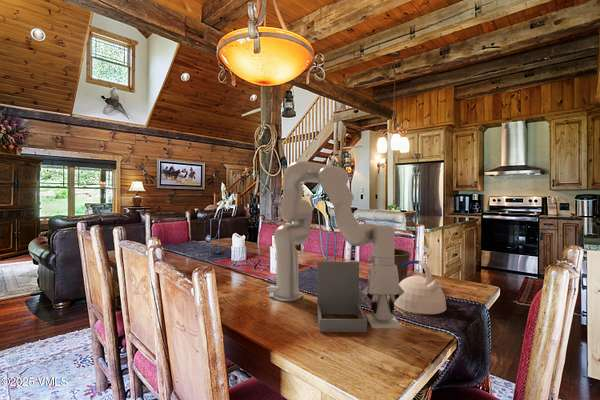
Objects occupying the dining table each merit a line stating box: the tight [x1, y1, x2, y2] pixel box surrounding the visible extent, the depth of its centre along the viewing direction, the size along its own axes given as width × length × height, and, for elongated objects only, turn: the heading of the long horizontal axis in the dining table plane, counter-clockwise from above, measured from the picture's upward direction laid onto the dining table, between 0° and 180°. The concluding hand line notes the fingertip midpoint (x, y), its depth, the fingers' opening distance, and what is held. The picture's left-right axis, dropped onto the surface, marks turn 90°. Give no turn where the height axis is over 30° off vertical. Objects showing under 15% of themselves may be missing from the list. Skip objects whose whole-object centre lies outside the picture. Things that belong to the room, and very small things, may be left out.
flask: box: [371, 295, 395, 321], centre depth 109 cm, size 7×7×10 cm
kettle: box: [394, 260, 447, 315], centre depth 126 cm, size 20×21×18 cm
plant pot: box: [394, 248, 412, 283], centre depth 155 cm, size 16×16×16 cm
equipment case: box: [316, 261, 368, 333], centre depth 110 cm, size 16×16×20 cm
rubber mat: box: [365, 314, 403, 330], centre depth 109 cm, size 10×10×1 cm
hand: (382, 311), depth 109 cm, fingers closed on flask, 5 cm apart
